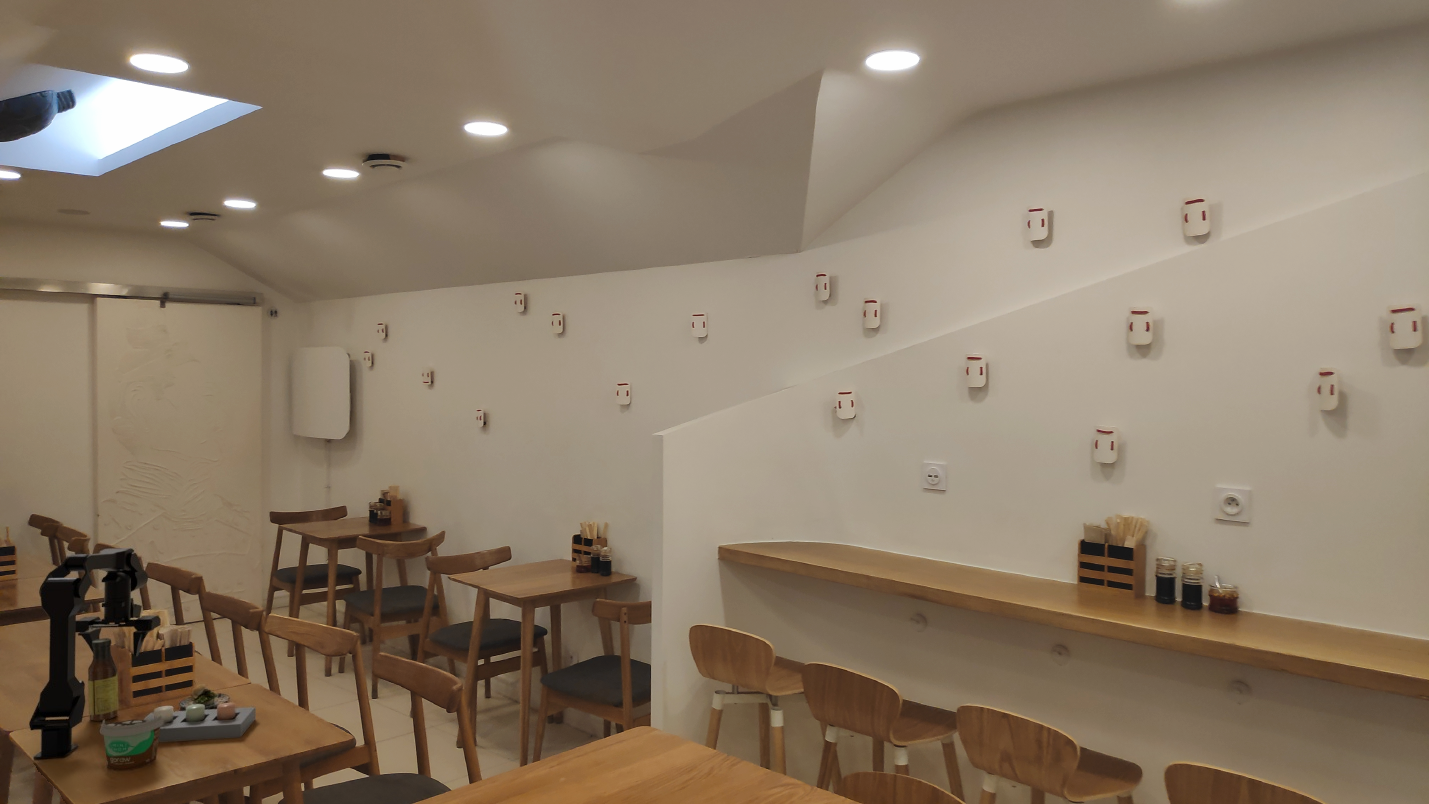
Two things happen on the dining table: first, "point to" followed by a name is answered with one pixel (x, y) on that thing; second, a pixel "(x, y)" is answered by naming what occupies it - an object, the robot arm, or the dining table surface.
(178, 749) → the dining table surface
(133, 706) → the dining table surface
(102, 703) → the sauce bottle
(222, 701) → the burger
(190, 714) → the sage button
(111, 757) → the food container
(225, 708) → the terracotta button
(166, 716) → the cream button
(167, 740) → the panel
